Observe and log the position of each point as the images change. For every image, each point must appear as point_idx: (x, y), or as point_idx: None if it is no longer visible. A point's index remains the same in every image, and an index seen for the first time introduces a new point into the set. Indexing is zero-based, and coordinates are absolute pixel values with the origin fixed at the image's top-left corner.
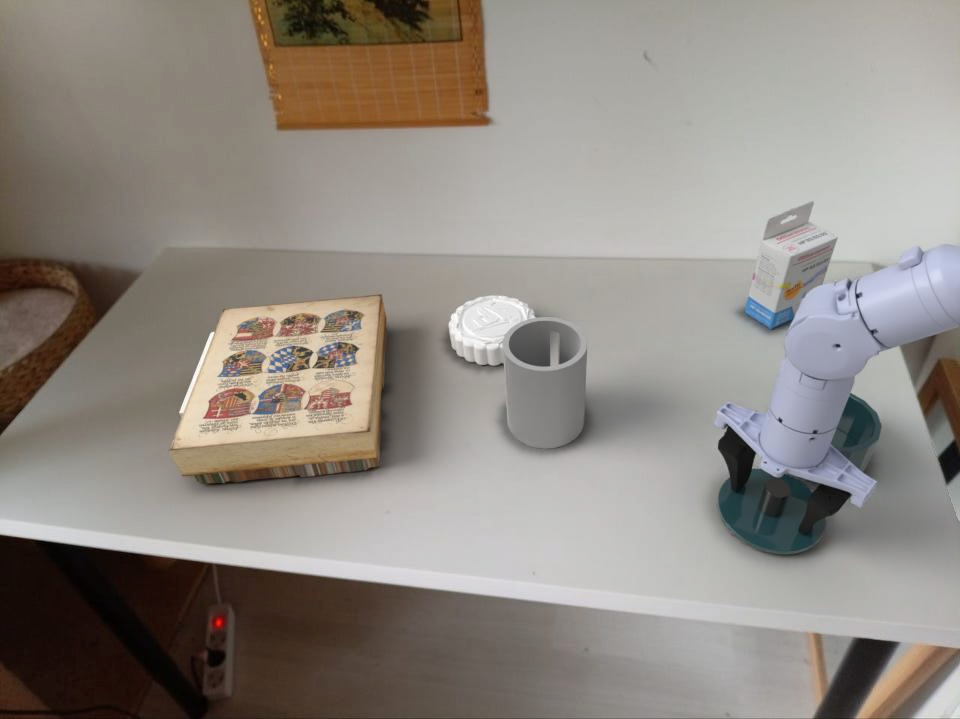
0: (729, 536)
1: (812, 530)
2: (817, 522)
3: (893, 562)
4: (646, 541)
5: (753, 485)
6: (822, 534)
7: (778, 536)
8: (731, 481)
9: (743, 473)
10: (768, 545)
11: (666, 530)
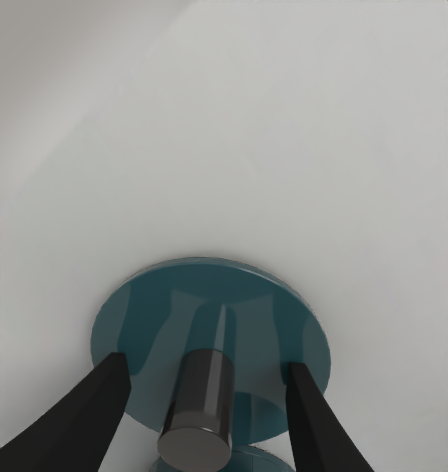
0: (241, 252)
1: None
2: None
3: (8, 382)
4: (431, 67)
5: (269, 395)
6: None
7: (149, 317)
8: (317, 393)
9: (301, 439)
10: (149, 283)
11: (390, 153)
